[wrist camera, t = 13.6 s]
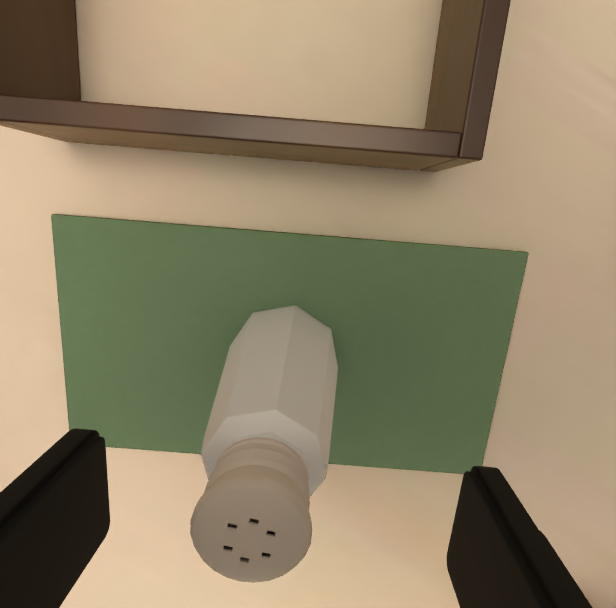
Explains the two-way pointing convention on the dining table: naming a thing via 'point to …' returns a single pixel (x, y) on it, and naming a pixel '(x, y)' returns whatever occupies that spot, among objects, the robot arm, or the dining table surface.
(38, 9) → the box
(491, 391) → the placemat
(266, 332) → the pepper shaker
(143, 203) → the dining table surface
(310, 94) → the dining table surface
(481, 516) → the robot arm
